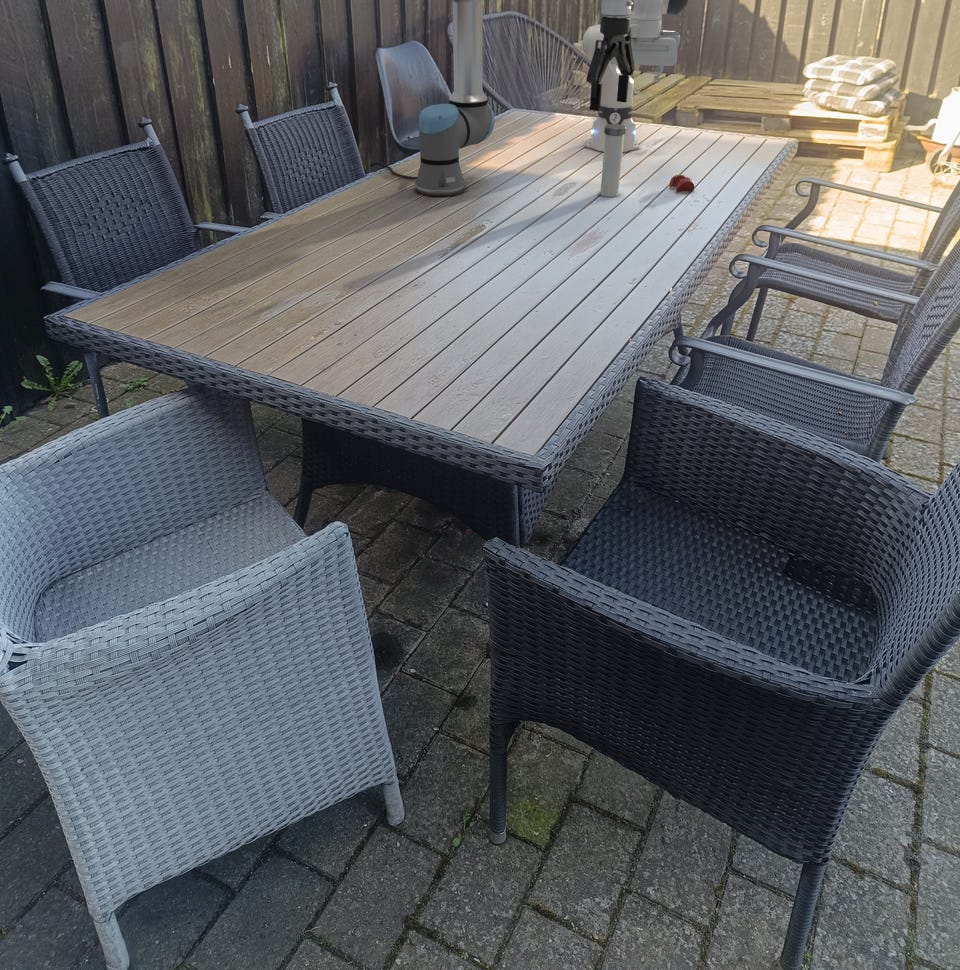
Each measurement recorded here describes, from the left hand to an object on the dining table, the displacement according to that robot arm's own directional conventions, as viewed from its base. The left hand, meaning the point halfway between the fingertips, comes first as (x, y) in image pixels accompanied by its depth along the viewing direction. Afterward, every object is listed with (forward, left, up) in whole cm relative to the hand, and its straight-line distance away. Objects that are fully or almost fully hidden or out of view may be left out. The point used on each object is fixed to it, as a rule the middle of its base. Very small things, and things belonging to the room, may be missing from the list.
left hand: (608, 106), depth 226 cm
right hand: (-12, +38, 0) cm, 40 cm away
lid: (-6, +15, -9) cm, 19 cm away
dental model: (+9, +33, -28) cm, 44 cm away
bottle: (-6, +15, -28) cm, 32 cm away
